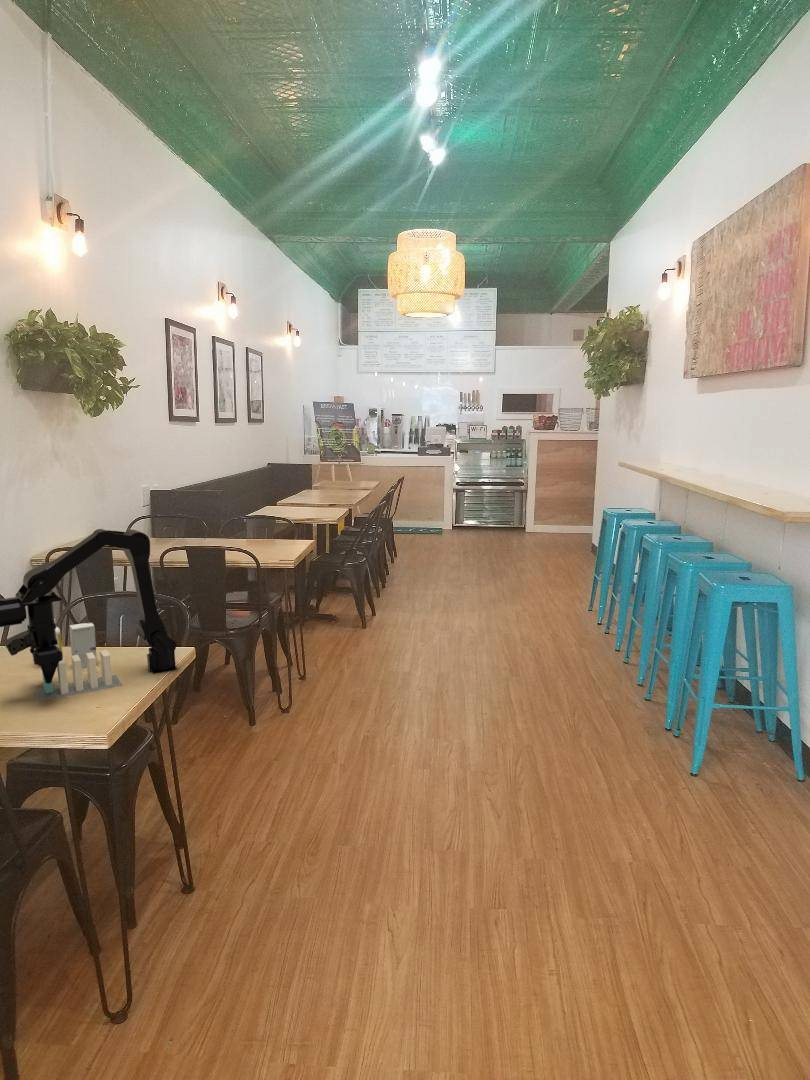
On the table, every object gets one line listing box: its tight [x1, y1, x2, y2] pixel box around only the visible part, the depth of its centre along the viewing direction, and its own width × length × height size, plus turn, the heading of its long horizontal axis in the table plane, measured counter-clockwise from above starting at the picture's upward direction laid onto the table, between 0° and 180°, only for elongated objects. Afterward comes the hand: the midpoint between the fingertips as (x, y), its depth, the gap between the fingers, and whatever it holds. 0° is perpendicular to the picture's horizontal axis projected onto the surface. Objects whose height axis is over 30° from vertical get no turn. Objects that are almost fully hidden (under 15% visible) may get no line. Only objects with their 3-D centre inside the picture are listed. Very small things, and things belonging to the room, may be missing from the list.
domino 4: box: [99, 649, 113, 686], centre depth 189 cm, size 2×5×8 cm, turn 32°
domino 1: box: [56, 657, 69, 694], centre depth 183 cm, size 2×5×8 cm, turn 32°
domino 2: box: [70, 655, 84, 691], centre depth 185 cm, size 2×5×8 cm, turn 32°
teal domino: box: [41, 671, 53, 693], centre depth 181 cm, size 2×5×8 cm, turn 32°
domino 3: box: [86, 653, 98, 689], centre depth 187 cm, size 2×5×8 cm, turn 32°
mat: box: [33, 674, 123, 703], centre depth 186 cm, size 20×9×1 cm, turn 122°
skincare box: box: [69, 622, 98, 670], centre depth 201 cm, size 6×4×12 cm
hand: (47, 679), depth 182 cm, fingers closed on teal domino, 5 cm apart
